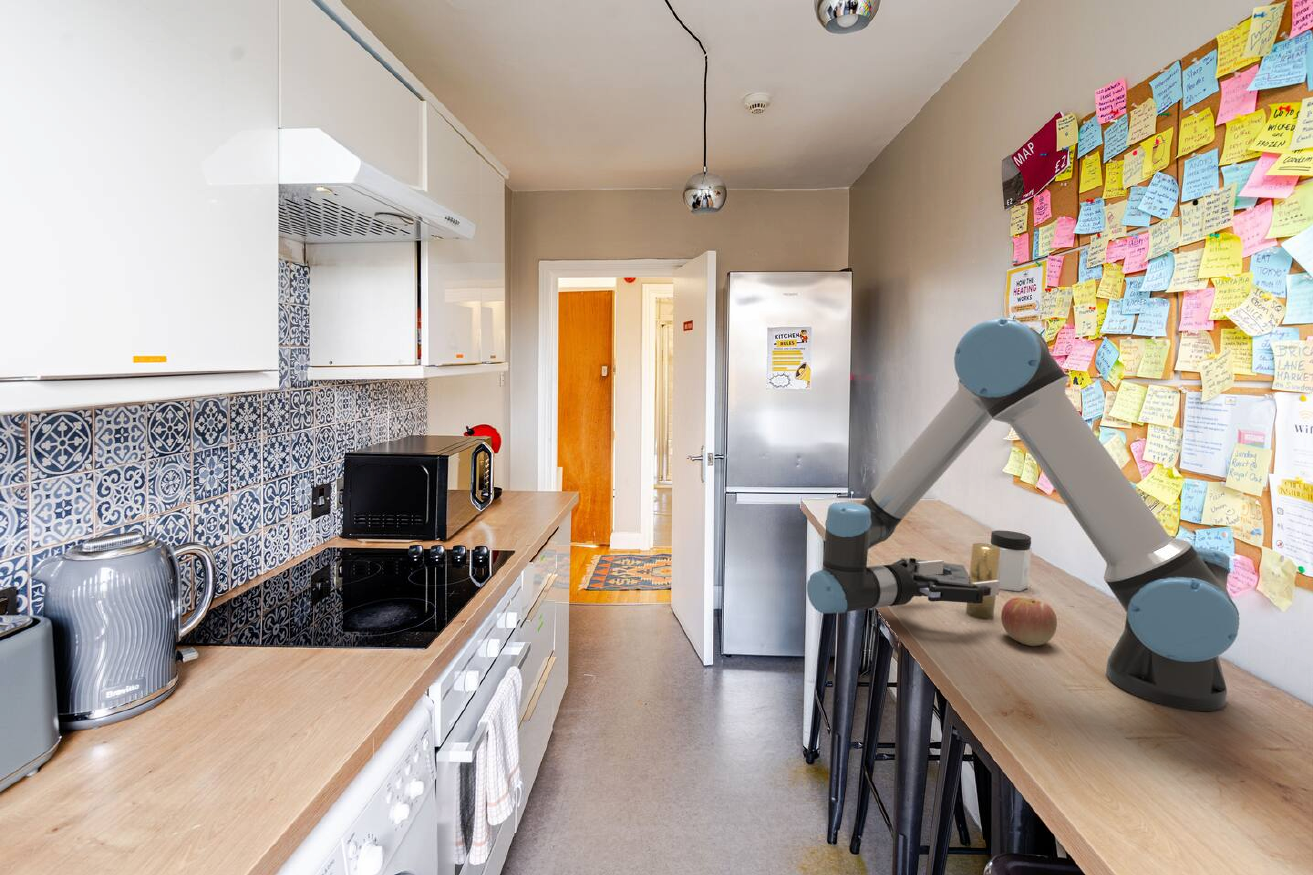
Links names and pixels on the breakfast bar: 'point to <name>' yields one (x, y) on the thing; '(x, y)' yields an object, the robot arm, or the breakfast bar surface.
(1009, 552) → the jar
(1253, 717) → the breakfast bar surface
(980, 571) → the brass cylinder
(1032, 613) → the apple
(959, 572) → the jig
